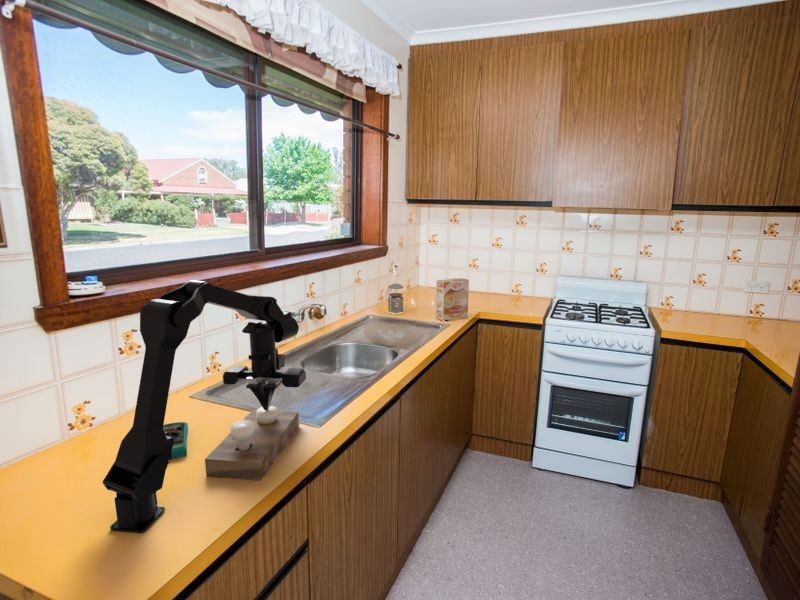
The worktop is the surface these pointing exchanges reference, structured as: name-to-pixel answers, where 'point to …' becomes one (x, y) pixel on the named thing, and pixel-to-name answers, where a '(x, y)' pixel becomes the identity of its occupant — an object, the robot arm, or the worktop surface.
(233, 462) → the brown wooden board
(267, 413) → the far knob
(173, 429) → the digital multimeter
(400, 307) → the french press
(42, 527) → the worktop surface
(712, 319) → the worktop surface
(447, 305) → the coffeecake box
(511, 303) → the worktop surface
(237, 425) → the near knob
